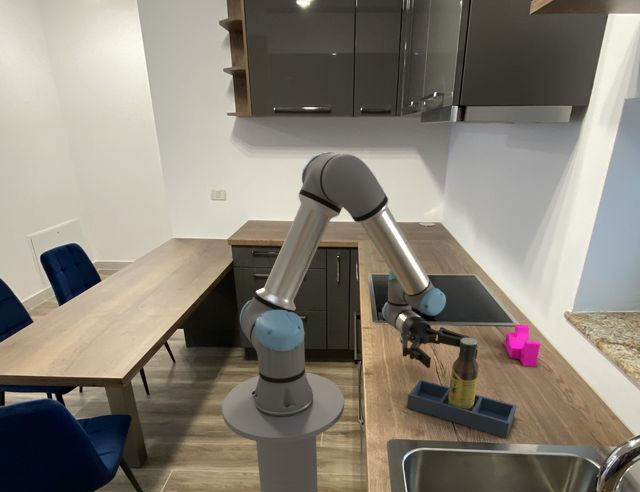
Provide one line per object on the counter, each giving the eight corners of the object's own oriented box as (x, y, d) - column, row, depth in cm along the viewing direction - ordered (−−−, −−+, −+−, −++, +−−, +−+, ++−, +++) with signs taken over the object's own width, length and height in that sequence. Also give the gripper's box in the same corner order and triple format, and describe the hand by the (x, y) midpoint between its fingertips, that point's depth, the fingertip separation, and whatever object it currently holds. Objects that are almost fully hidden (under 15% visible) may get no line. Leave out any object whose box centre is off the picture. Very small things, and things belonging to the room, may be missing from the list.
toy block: (504, 344, 151) (507, 324, 148) (523, 345, 150) (527, 325, 147) (514, 365, 137) (518, 343, 134) (535, 366, 136) (540, 344, 133)
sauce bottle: (447, 402, 117) (455, 333, 108) (472, 405, 115) (482, 335, 107) (446, 415, 111) (455, 344, 103) (472, 419, 109) (483, 347, 101)
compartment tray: (407, 407, 116) (408, 394, 114) (419, 392, 123) (420, 379, 121) (506, 438, 104) (509, 423, 102) (513, 419, 111) (516, 405, 109)
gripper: (448, 333, 136) (492, 364, 118) (374, 345, 128) (407, 379, 110) (451, 310, 133) (496, 338, 115) (374, 321, 125) (409, 352, 107)
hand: (452, 358), depth 112 cm, fingers open, 13 cm apart
